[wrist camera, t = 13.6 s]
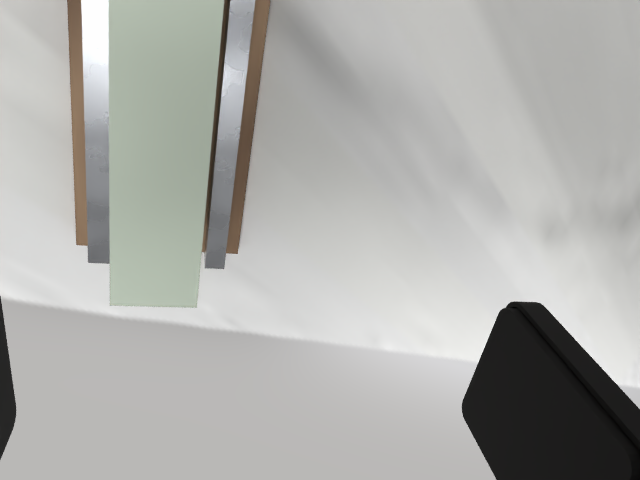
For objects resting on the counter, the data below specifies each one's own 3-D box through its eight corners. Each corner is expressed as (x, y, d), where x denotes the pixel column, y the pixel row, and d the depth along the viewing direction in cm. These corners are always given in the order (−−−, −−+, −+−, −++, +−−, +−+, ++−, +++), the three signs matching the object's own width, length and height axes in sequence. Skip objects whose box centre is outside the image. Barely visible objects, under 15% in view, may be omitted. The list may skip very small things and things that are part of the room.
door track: (273, -47, 27) (281, -46, 25) (236, 246, 36) (239, 269, 33) (68, -91, 25) (53, -95, 22) (79, 237, 33) (69, 261, 30)
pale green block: (215, -16, 27) (224, 0, 19) (196, 223, 33) (196, 307, 25) (134, -31, 26) (108, -22, 18) (130, 219, 32) (109, 305, 24)
